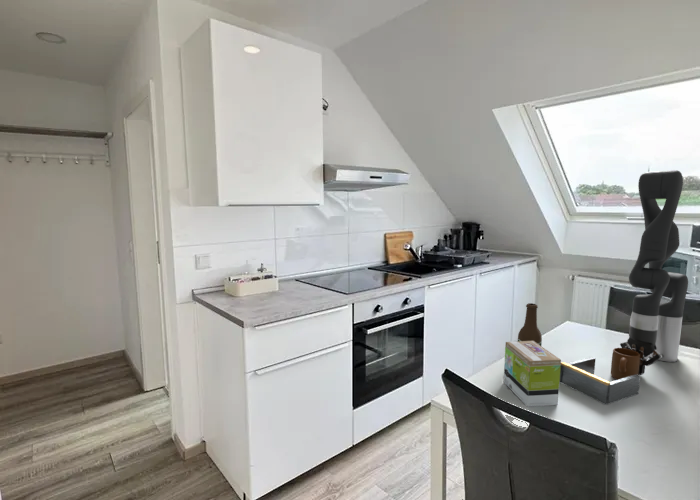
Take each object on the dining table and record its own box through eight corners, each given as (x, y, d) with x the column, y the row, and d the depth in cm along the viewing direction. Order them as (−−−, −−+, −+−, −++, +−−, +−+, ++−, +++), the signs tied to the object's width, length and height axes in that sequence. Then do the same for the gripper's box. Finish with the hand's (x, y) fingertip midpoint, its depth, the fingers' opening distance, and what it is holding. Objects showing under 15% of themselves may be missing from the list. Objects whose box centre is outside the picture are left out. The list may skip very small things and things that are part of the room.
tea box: (502, 383, 126) (504, 340, 124) (530, 381, 127) (533, 339, 125) (526, 407, 112) (529, 359, 109) (559, 406, 112) (563, 358, 110)
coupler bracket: (590, 373, 133) (592, 354, 132) (638, 393, 119) (640, 373, 118) (559, 381, 127) (560, 362, 126) (605, 404, 113) (607, 383, 112)
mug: (634, 390, 121) (637, 362, 120) (606, 383, 126) (608, 356, 125) (638, 377, 130) (641, 351, 129) (612, 370, 135) (614, 345, 134)
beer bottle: (538, 365, 139) (542, 302, 136) (541, 375, 132) (546, 308, 128) (515, 362, 142) (518, 300, 138) (516, 371, 134) (521, 306, 131)
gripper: (672, 330, 124) (666, 380, 127) (629, 318, 136) (625, 364, 139) (659, 333, 121) (653, 384, 124) (616, 321, 133) (611, 368, 136)
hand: (638, 374), depth 131 cm, fingers closed
